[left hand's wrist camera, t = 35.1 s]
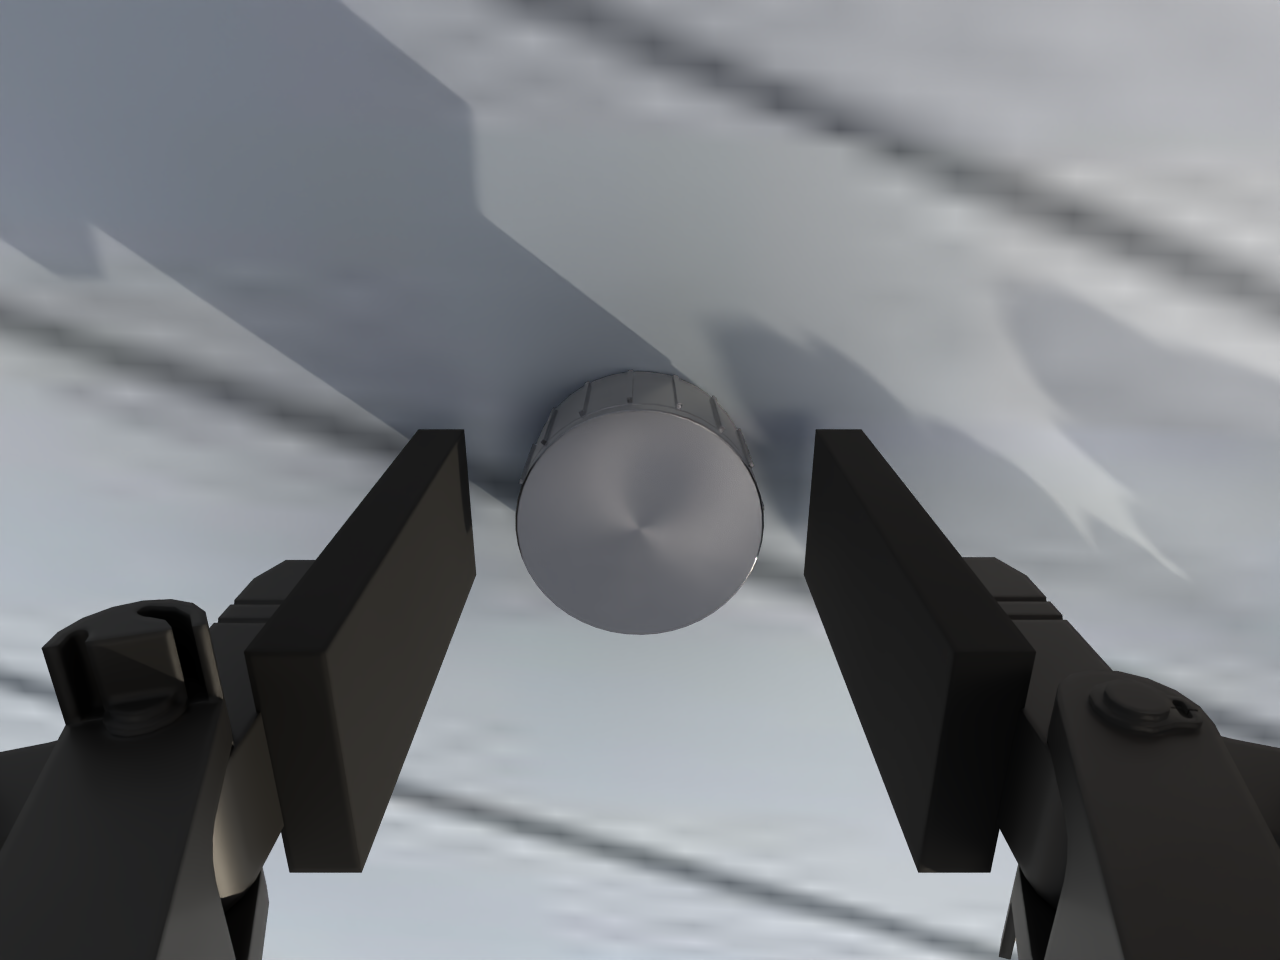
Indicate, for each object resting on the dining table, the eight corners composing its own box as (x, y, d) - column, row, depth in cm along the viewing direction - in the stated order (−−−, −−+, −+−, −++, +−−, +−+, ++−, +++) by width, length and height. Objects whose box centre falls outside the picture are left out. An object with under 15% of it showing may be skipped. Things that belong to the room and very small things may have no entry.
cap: (524, 559, 16) (506, 623, 14) (539, 356, 15) (521, 392, 13) (729, 581, 16) (743, 648, 14) (765, 382, 15) (786, 423, 13)
